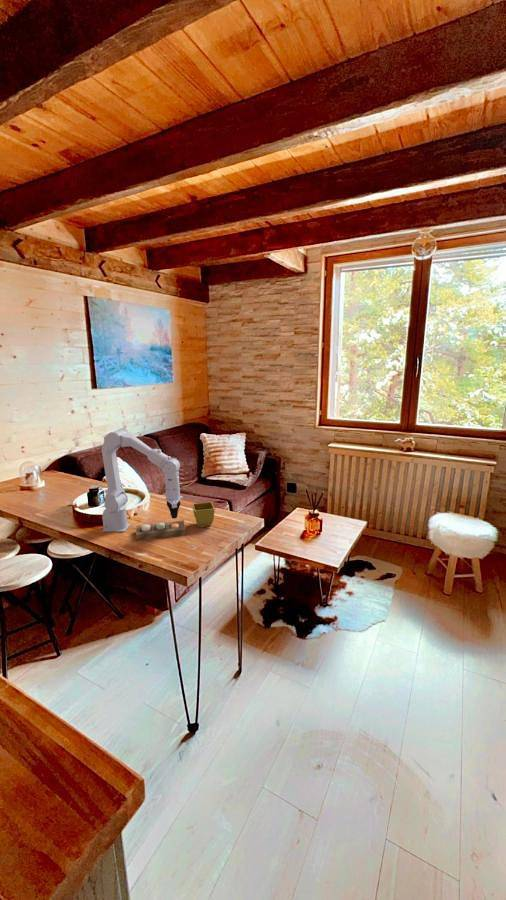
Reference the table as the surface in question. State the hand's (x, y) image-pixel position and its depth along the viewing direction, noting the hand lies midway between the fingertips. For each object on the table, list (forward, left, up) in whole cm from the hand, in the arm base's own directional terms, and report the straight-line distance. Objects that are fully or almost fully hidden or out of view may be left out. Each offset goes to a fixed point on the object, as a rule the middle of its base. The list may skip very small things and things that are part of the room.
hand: (174, 517), depth 161 cm
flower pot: (+11, +7, -7) cm, 15 cm away
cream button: (-11, -4, -5) cm, 13 cm away
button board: (-6, -2, -6) cm, 9 cm away
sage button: (-6, -2, -5) cm, 8 cm away
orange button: (0, 0, -6) cm, 6 cm away
